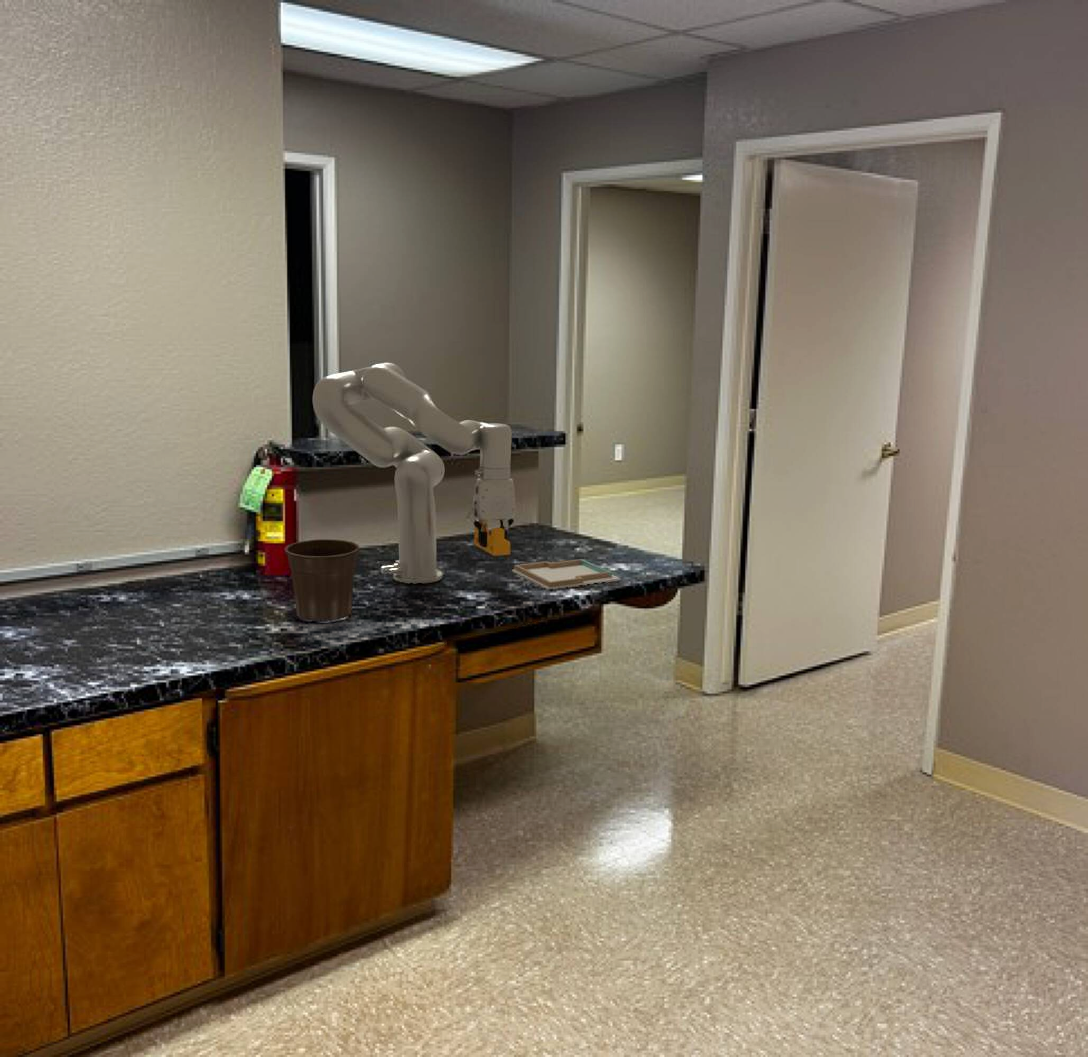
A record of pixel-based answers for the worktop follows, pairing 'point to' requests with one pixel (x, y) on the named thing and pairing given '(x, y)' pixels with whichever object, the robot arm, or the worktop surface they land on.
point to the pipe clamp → (494, 542)
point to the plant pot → (322, 578)
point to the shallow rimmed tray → (564, 573)
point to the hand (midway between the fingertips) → (492, 544)
